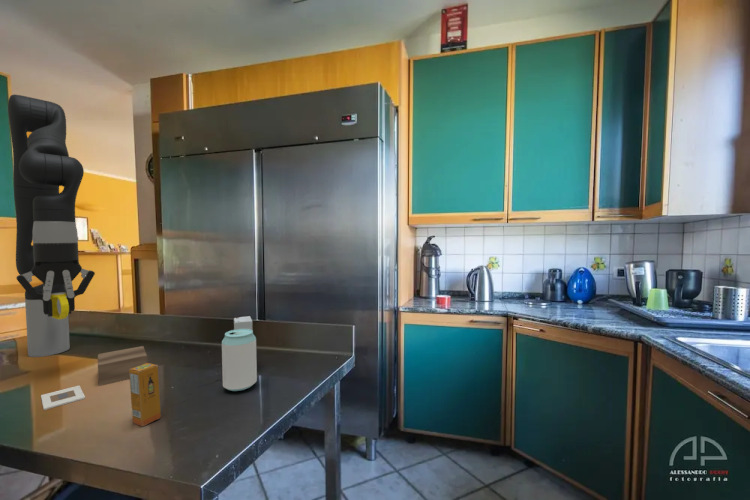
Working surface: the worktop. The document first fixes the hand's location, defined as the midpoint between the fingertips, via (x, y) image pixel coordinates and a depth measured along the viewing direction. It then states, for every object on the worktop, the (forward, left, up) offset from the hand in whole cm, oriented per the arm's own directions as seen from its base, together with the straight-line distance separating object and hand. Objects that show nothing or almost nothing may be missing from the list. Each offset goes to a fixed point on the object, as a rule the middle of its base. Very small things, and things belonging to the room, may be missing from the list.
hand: (59, 314), depth 77 cm
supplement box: (+37, +8, -15) cm, 41 cm away
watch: (0, 0, -1) cm, 1 cm away
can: (+36, +26, -15) cm, 47 cm away
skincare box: (+26, +32, -15) cm, 44 cm away
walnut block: (+9, +10, -15) cm, 20 cm away
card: (+14, -1, -15) cm, 21 cm away
